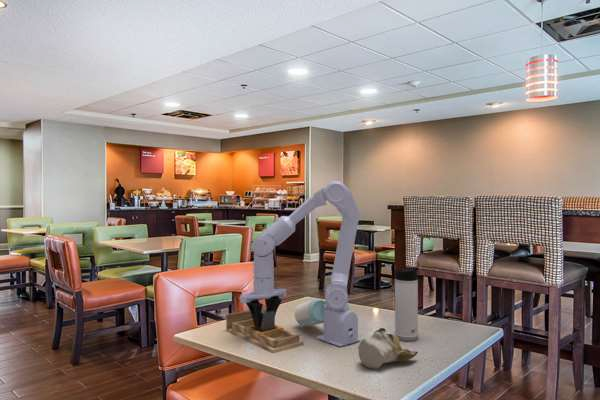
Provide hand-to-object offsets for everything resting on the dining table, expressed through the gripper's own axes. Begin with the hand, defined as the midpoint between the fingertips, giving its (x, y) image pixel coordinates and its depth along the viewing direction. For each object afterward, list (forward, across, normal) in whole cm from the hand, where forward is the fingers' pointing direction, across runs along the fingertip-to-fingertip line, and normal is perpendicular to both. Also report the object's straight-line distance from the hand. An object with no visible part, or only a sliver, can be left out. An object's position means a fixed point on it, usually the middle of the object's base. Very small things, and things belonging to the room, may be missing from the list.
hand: (263, 324), depth 123 cm
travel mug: (+4, -31, +26) cm, 41 cm away
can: (0, -16, -2) cm, 17 cm away
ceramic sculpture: (+4, -12, +34) cm, 36 cm away
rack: (+4, 0, 0) cm, 4 cm away
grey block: (+2, 0, 0) cm, 2 cm away
